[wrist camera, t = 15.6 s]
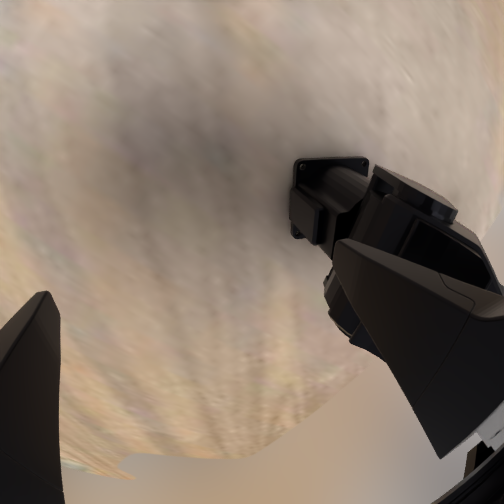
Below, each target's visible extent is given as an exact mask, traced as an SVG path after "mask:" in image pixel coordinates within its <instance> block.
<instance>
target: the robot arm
mask: <svg viewBox="0 0 504 504" xmlns="http://www.w3.org/2000/svg"><path fill="white" fill-rule="evenodd" d="M363 161H364V164H363V165H362V162H363ZM301 164H304V166H303V168H301V169H300V165H301ZM368 168H369V160H368V159H367V158H365V157H329V158H308V159H299V160H297V161H296V162H295V165H294V182H293V187H292V189H291V193H290V213H289V219H290V220H291V235H292V236H293V237H294V238H295V239H302V238H307V239H308V240H309V241H310V243H311V244H313V245H314V246H316V245H318V246H319V247H320V248H321V249H322V250H323V251H324V252H325V253H326V254H327V256H328V257H329V258H330V259H331V260H332V265H333V267H332V269H331V271H330V273H329V275H328V276H326V278H325V280H324V282H323V284H324V287H325V288H324V297H325V299H326V301H327V304H328V306H329V308H330V309H329V311H328V314H329V316H330V318H331V319H332V320H333V321H334V323H335V324H336V325H337V327H338V328H339V330H341V331H342V332H343V333H344V334H345V335H346V336H347V337H349V338H350V339H349V342H350V343H351V344H353V345H355V346H358V347H360V348H363V349H365V350H367V351H369V352H371V353H372V354H374V355H376V356H377V357H379V358H380V359H382V360H383V361H384V362H386V363H387V365H388V366H389V368H390V370H391V371H392V373H393V375H394V377H395V378H396V380H397V382H398V384H399V385H400V387H401V389H402V391H403V392H404V394H405V396H406V398H407V400H408V401H409V403H410V405H411V407H412V409H413V411H414V413H415V414H416V416H417V418H418V420H419V422H420V423H421V425H422V427H423V429H424V431H425V433H426V435H427V437H428V439H429V440H430V442H431V444H432V446H433V448H434V450H435V452H436V454H437V456H438V457H439V459H442V458H443V457H445V456H446V455H447V454H449V453H450V452H452V451H453V450H454V449H455V448H457V447H458V446H459V445H461V444H462V443H463V442H465V441H466V440H467V439H468V438H469V437H471V436H472V435H473V434H474V433H476V432H477V433H478V435H479V436H480V438H481V439H482V441H481V442H480V443H478V444H477V445H476V446H475V447H474V448H473V449H471V450H470V451H469V452H468V454H467V460H466V467H465V473H464V478H463V480H462V481H461V482H459V483H458V484H457V485H455V486H454V487H453V488H452V489H450V490H449V491H448V492H446V493H445V494H444V495H442V496H441V497H440V498H438V499H437V500H435V501H434V502H433V503H431V504H504V286H503V285H501V284H500V283H499V281H498V279H497V277H496V275H495V272H494V270H493V268H492V266H491V264H490V261H489V259H488V257H487V255H486V253H485V251H484V249H483V247H482V245H481V243H480V241H479V239H478V237H477V236H476V234H475V233H474V232H472V231H471V230H469V229H468V228H466V227H465V226H463V225H462V224H460V223H458V222H457V221H455V220H454V219H455V217H456V215H457V213H458V210H457V209H456V208H455V207H454V206H453V205H452V204H451V203H450V202H449V201H447V200H446V199H445V198H444V197H442V196H441V195H439V194H437V193H435V192H434V191H432V190H430V189H428V188H426V187H425V186H423V185H421V184H419V183H417V182H415V181H413V180H410V179H408V178H406V177H404V176H402V175H399V174H397V173H395V172H392V171H390V170H388V169H385V168H383V167H381V166H378V165H376V164H375V167H374V169H373V173H374V174H373V176H372V178H371V179H369V178H367V176H368ZM297 231H299V233H298V234H296V232H297ZM60 365H61V350H60V313H59V310H58V308H57V306H56V304H55V302H54V300H53V297H52V295H51V293H50V292H49V291H42V292H37V293H36V294H35V295H34V296H33V297H32V298H31V299H30V300H29V301H28V302H27V303H26V304H25V305H24V306H23V307H22V308H21V309H20V310H19V311H18V312H17V313H16V314H15V315H14V316H13V317H12V318H11V319H10V320H9V321H8V322H7V323H6V324H5V325H4V326H3V328H2V329H1V330H0V504H65V500H64V493H63V492H62V491H63V485H62V476H61V463H60V446H59V384H60Z"/></svg>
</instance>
